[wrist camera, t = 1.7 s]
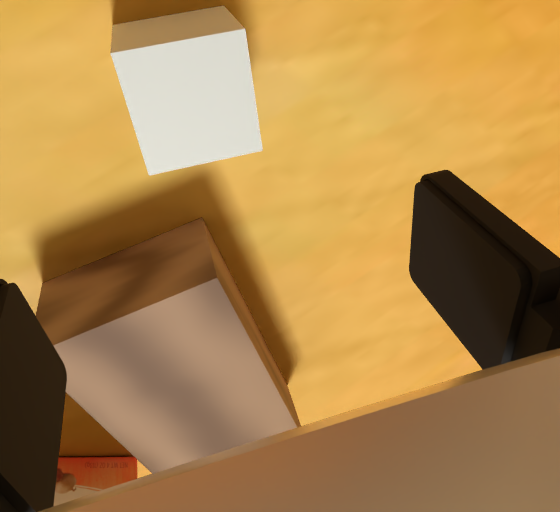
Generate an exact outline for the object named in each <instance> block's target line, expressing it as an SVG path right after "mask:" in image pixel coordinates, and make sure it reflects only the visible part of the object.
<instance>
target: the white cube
mask: <svg viewBox="0 0 560 512" xmlns="http://www.w3.org/2000/svg"><path fill="white" fill-rule="evenodd" d="M111 56H112V59H113V62H114V66H115V69H116V72H117V75H118V78H119V82H120V85H121V88H122V91H123V94H124V97H125V101H126V104H127V107H128V110H129V113H130V116H131V120H132V123H133V126H134V129H135V132H136V136H137V139H138V142H139V145H140V148H141V151H142V155H143V158H144V161H145V164H146V167H147V170H148V174H149V175H154V174H158V173H163V172H167V171H172V170H177V169H181V168H186V167H190V166H195V165H199V164H204V163H209V162H213V161H218V160H222V159H227V158H231V157H236V156H240V155H245V154H250V153H254V152H259V151H263V149H262V142H261V135H260V128H259V121H258V114H257V107H256V100H255V93H254V86H253V79H252V72H251V65H250V58H249V51H248V44H247V37H246V30H245V28H244V27H243V26H242V25H241V24H240V22H239V21H238V20H237V19H236V18H235V17H234V16H233V15H232V14H231V13H230V12H229V11H228V10H227V8H226V7H225V6H224V5H223V6H218V7H212V8H206V9H200V10H195V11H189V12H183V13H178V14H172V15H166V16H160V17H155V18H149V19H143V20H137V21H132V22H126V23H120V24H115V25H113V26H112V40H111Z"/></svg>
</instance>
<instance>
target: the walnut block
mask: <svg viewBox="0 0 560 512" xmlns="http://www.w3.org/2000/svg"><path fill="white" fill-rule="evenodd" d="M36 318H37V319H38V321H39V323H40V324H41V326H42V328H43V329H44V331H45V333H46V334H47V336H48V338H49V339H50V341H51V343H52V344H53V346H54V348H55V349H56V351H57V353H58V354H59V356H60V358H61V359H62V361H63V363H64V365H65V368H66V372H67V383H66V393H67V394H68V395H69V396H70V397H72V398H73V399H74V400H75V401H76V402H77V403H78V404H79V405H80V406H81V407H82V408H83V409H84V410H85V411H86V412H87V413H89V414H90V415H91V416H92V417H93V418H94V419H95V420H96V421H97V422H98V423H99V424H100V425H101V426H102V427H103V428H104V429H106V430H107V431H108V432H109V433H110V434H111V435H112V436H113V437H114V438H115V439H116V440H117V441H118V442H119V443H120V444H122V445H123V446H124V447H125V448H126V449H127V450H128V451H129V452H130V453H131V454H132V455H133V456H134V457H135V458H136V459H137V460H139V461H140V462H141V463H142V464H143V465H144V466H145V467H146V468H147V469H148V470H149V471H150V472H151V473H152V474H153V473H156V472H160V471H163V470H166V469H169V468H172V467H175V466H178V465H181V464H185V463H188V462H191V461H194V460H197V459H200V458H203V457H206V456H209V455H213V454H216V453H219V452H222V451H225V450H228V449H231V448H234V447H237V446H241V445H244V444H247V443H250V442H253V441H256V440H260V439H263V438H266V437H269V436H272V435H275V434H279V433H282V432H285V431H288V430H291V429H294V428H297V427H301V425H300V422H299V419H298V416H297V413H296V410H295V407H294V404H293V401H292V398H291V395H290V392H289V389H288V386H287V384H286V382H285V380H284V378H283V376H282V374H281V372H280V370H279V368H278V366H277V364H276V362H275V360H274V358H273V356H272V354H271V352H270V350H269V348H268V346H267V345H266V343H265V341H264V339H263V337H262V335H261V333H260V331H259V329H258V327H257V325H256V323H255V321H254V319H253V317H252V315H251V313H250V311H249V309H248V307H247V305H246V303H245V301H244V299H243V297H242V295H241V293H240V291H239V289H238V287H237V285H236V283H235V281H234V279H233V277H232V275H231V273H230V271H229V269H228V267H227V265H226V263H225V261H224V260H223V258H222V256H221V254H220V252H219V250H218V248H217V246H216V244H215V242H214V240H213V238H212V236H211V234H210V232H209V230H208V228H207V226H206V224H205V222H204V220H203V218H199V219H197V220H195V221H192V222H190V223H187V224H185V225H182V226H180V227H178V228H175V229H173V230H170V231H168V232H165V233H163V234H161V235H158V236H156V237H153V238H151V239H148V240H146V241H144V242H141V243H139V244H136V245H134V246H131V247H129V248H127V249H124V250H122V251H119V252H117V253H114V254H112V255H110V256H107V257H105V258H102V259H100V260H97V261H95V262H93V263H90V264H88V265H85V266H83V267H80V268H78V269H76V270H73V271H71V272H68V273H66V274H63V275H61V276H59V277H56V278H54V279H51V280H49V281H46V282H44V283H42V288H41V293H40V298H39V302H38V307H37V312H36Z"/></svg>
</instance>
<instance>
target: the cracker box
mask: <svg viewBox="0 0 560 512" xmlns="http://www.w3.org/2000/svg"><path fill="white" fill-rule="evenodd" d="M135 479H137V459H136V458H135V457H59V458H58V468H57V477H56V487H55V496H54V506H57V505H60V504H63V503H65V502H68V501H71V500H74V499H77V498H80V497H83V496H86V495H89V494H92V493H95V492H98V491H101V490H104V489H107V488H110V487H113V486H116V485H119V484H122V483H125V482H128V481H132V480H135ZM54 506H53V507H54Z"/></svg>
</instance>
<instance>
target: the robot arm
mask: <svg viewBox="0 0 560 512" xmlns="http://www.w3.org/2000/svg"><path fill="white" fill-rule="evenodd" d="M409 271H410V275H411V278H412V280H413V282H414V283H415V284H416V286H417V287H418V288H419V289H420V291H421V292H422V293H423V295H424V296H425V297H426V298H427V300H428V301H429V302H430V303H431V305H432V306H433V307H434V308H435V310H436V311H437V312H438V313H439V315H440V316H441V317H442V319H443V320H444V321H445V322H446V324H447V325H448V326H449V327H450V329H451V330H452V331H453V332H454V334H455V335H456V336H457V337H458V339H459V340H460V341H461V343H462V344H463V345H464V346H465V348H466V349H467V350H468V351H469V353H470V354H471V355H472V356H473V358H474V359H475V360H476V361H477V363H478V364H479V365H480V367H481V368H482V369H483V370H480V371H477V372H474V373H471V374H467V375H464V376H461V377H458V378H454V379H451V380H448V381H445V382H442V383H438V384H435V385H432V386H429V387H425V388H422V389H419V390H416V391H412V392H409V393H406V394H403V395H400V396H396V397H393V398H390V399H387V400H383V401H380V402H377V403H374V404H371V405H367V406H364V407H361V408H358V409H355V410H351V411H348V412H345V413H342V414H339V415H336V416H332V417H329V418H326V419H323V420H320V421H317V422H313V423H310V424H307V425H304V426H301V427H297V428H294V429H291V430H288V431H285V432H282V433H279V434H275V435H272V436H269V437H266V438H263V439H260V440H256V441H253V442H250V443H247V444H244V445H241V446H237V447H234V448H231V449H228V450H225V451H222V452H219V453H216V454H213V455H209V456H206V457H203V458H200V459H197V460H194V461H191V462H188V463H185V464H181V465H178V466H175V467H172V468H169V469H166V470H163V471H160V472H156V473H153V474H150V475H147V476H144V477H141V478H138V479H135V480H132V481H128V482H125V483H122V484H119V485H116V486H113V487H110V488H107V489H104V490H101V491H98V492H95V493H92V494H89V495H86V496H83V497H80V498H77V499H74V500H71V501H68V502H65V503H63V504H60V505H57V506H54V496H55V487H56V477H57V468H58V458H59V449H60V440H61V430H62V421H63V411H64V402H65V393H66V383H67V372H66V368H65V365H64V363H63V361H62V359H61V358H60V356H59V354H58V353H57V351H56V349H55V348H54V346H53V344H52V343H51V341H50V339H49V338H48V336H47V334H46V333H45V331H44V329H43V328H42V326H41V324H40V323H39V321H38V319H37V318H36V316H35V314H34V313H33V311H32V309H31V308H30V306H29V304H28V302H27V301H26V299H25V297H24V296H23V294H22V292H21V291H20V289H19V288H18V286H17V285H16V284H15V283H9V284H8V283H7V282H6V281H5V280H3V279H0V512H560V258H559V257H558V256H556V255H555V254H554V253H553V252H551V251H550V250H549V249H547V248H546V247H545V246H544V245H542V244H541V243H540V242H539V241H537V240H536V239H535V238H534V237H532V236H531V235H530V234H529V233H527V232H526V231H525V230H523V229H522V228H521V227H520V226H518V225H517V224H516V223H515V222H513V221H512V220H511V219H510V218H508V217H507V216H506V215H505V214H503V213H502V212H501V211H499V210H498V209H497V208H496V207H494V206H493V205H492V204H491V203H489V202H488V201H487V200H486V199H484V198H483V197H482V196H481V195H479V194H478V193H477V192H476V191H474V190H473V189H472V188H470V187H469V186H468V185H467V184H465V183H464V182H463V181H462V180H460V179H459V178H458V177H457V176H455V175H454V174H453V173H452V172H450V171H448V170H442V171H438V172H434V173H430V174H426V175H424V176H422V178H421V181H420V182H418V183H417V184H416V185H415V191H414V205H413V220H412V234H411V249H410V263H409ZM53 506H54V507H53Z"/></svg>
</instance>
